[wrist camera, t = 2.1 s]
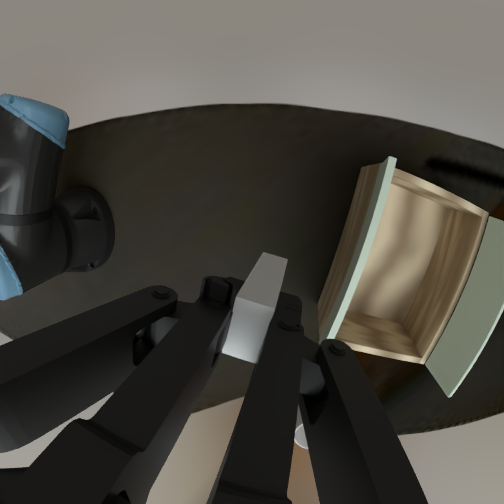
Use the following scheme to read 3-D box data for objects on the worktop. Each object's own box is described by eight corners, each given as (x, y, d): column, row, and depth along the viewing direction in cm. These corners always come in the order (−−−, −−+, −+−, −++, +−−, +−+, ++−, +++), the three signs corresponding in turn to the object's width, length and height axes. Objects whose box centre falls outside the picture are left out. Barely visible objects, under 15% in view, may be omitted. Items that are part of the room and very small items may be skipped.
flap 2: (489, 216, 21) (491, 217, 21) (424, 364, 27) (428, 364, 27) (528, 230, 15) (530, 232, 15) (447, 397, 21) (451, 396, 21)
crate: (317, 303, 38) (319, 341, 29) (361, 167, 33) (381, 162, 23) (403, 326, 37) (423, 364, 27) (450, 203, 31) (488, 213, 22)
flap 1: (324, 342, 28) (319, 340, 28) (385, 167, 23) (380, 165, 23) (315, 377, 22) (309, 374, 22) (396, 158, 17) (389, 155, 17)
